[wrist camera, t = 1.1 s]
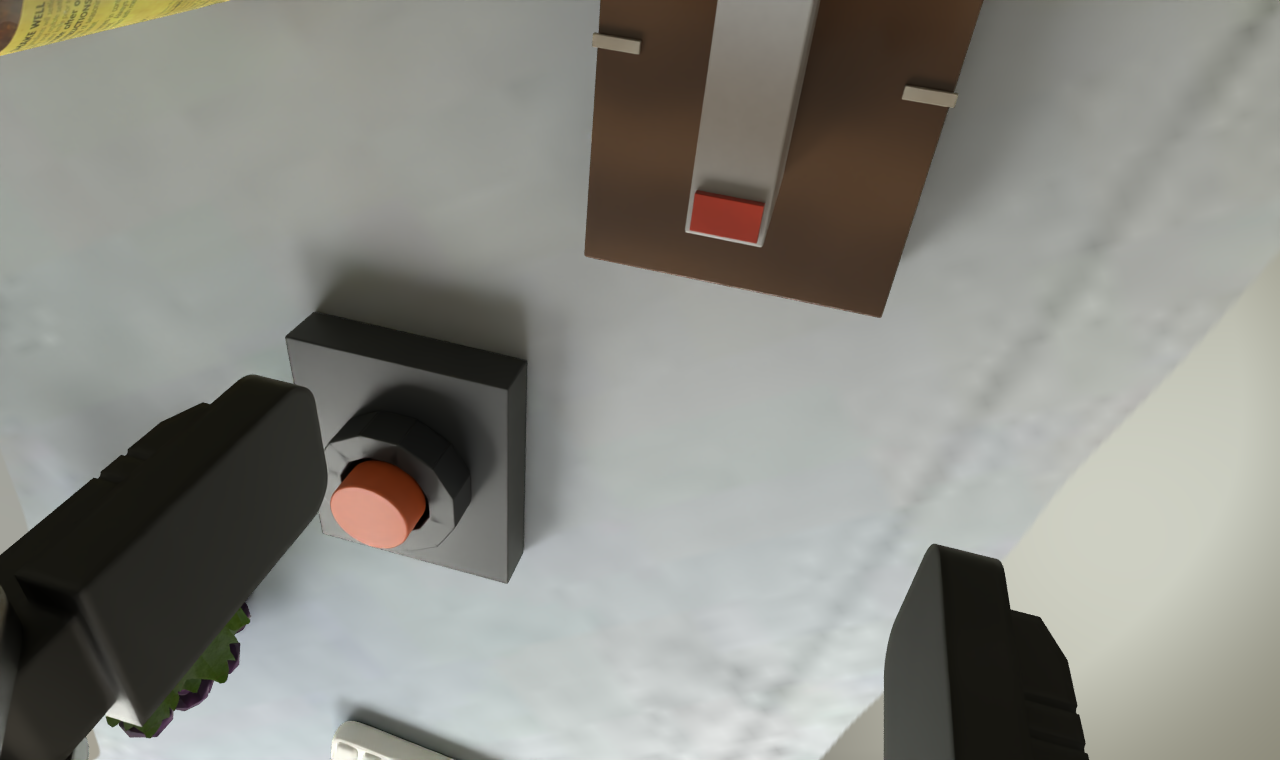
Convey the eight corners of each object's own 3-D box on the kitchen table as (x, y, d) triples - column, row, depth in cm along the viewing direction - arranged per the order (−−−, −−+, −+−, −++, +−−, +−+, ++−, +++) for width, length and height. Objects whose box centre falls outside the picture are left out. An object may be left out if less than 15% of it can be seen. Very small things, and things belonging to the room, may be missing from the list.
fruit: (178, 573, 56) (141, 479, 45) (298, 663, 56) (292, 590, 44) (40, 701, 50) (-45, 629, 38) (174, 803, 49) (128, 762, 38)
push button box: (313, 310, 36) (257, 359, 32) (527, 360, 34) (490, 415, 31) (345, 504, 43) (301, 560, 39) (523, 552, 41) (493, 613, 38)
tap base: (643, -262, 21) (611, -273, 19) (1040, -218, 20) (1062, -224, 18) (605, 221, 30) (579, 258, 27) (884, 277, 28) (884, 322, 26)
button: (346, 450, 35) (324, 477, 33) (424, 470, 34) (404, 498, 33) (355, 510, 37) (334, 537, 35) (428, 529, 36) (410, 558, 35)
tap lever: (753, -58, 21) (719, -28, 17) (830, -46, 21) (816, -13, 16) (717, 165, 24) (682, 237, 20) (782, 178, 24) (760, 253, 20)
